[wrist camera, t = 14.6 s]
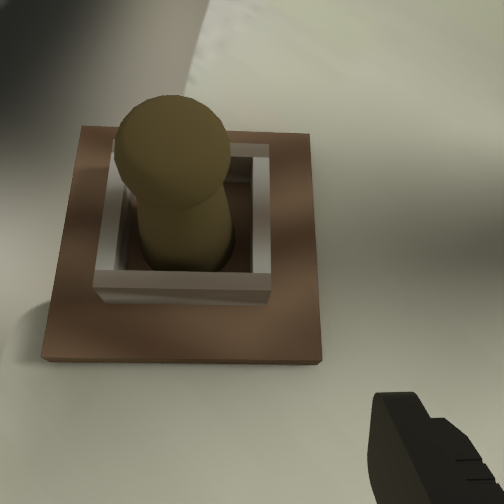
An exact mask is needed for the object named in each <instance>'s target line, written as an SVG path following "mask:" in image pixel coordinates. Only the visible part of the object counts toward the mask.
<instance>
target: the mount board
mask: <svg viewBox="0 0 504 504" xmlns="http://www.w3.org/2000/svg"><path fill="white" fill-rule="evenodd" d="M118 128H119V127H100V126H82V128H81V134H80V139H79V144H78V150H77V156H76V161H75V167H74V173H73V178H72V184H71V190H70V196H69V201H68V207H67V212H66V218H65V224H64V229H63V235H62V241H61V246H60V252H59V258H58V263H57V269H56V275H55V281H54V286H53V291H52V297H51V303H50V308H49V314H48V320H47V325H46V331H45V337H44V342H43V348H42V354H41V357H42V358H44V359H45V360H47V361H49V362H116V363H210V364H304V365H318V364H319V363H320V362H321V361H322V346H321V328H320V310H319V293H318V275H317V257H316V240H315V222H314V205H313V187H312V169H311V152H310V134H302V133H274V132H245V131H226V132H227V135H228V137H229V140H230V152H231V160H230V165H229V169H228V172H227V175H226V178H225V180H224V182H223V187H224V190H225V194H226V198H227V202H228V206H229V210H230V214H231V217H232V221H233V225H234V229H235V242H236V243H235V246H234V250H233V253H232V256H231V258H230V259H229V261H228V262H227V263H226V265H225V266H224V268H222V269H221V270H220V271H219V272H184V271H153V270H152V268H151V267H150V266H149V265H148V264H147V262H146V261H145V259H144V256H143V254H142V251H141V248H140V238H139V226H138V215H137V203H136V196H135V195H134V194H133V193H132V192H131V191H130V190H129V189H128V187H127V186H126V185H125V184H124V183H123V182H122V180H121V177H120V175H119V172H118V169H117V166H116V164H115V161H114V145H115V135H116V133H117V131H118Z"/></svg>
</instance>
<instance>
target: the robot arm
mask: <svg viewBox="0 0 504 504" xmlns="http://www.w3.org/2000/svg"><path fill="white" fill-rule="evenodd" d="M367 463H368V473H369V479H370V483H371V487H372V490H373V493H374V496H375V499H376V502H377V504H504V491H503V490H502V488H501V486H500V485H499V483H497V484H496V482H495V477H494V476H493V474H492V473H491V471H490V470H489V468H488V467H487V465H486V464H483V462H482V458H481V456H480V455H479V453H478V452H477V450H476V449H475V447H474V446H473V444H472V443H471V441H470V440H469V438H468V437H467V436H466V435H465V434H464V433H463V432H461V431H460V430H459V429H458V428H456V427H455V426H454V425H453V424H451V423H450V422H449V421H448V420H446V419H445V418H430V416H429V414H428V413H427V411H426V409H425V408H424V406H423V404H422V403H421V401H420V399H419V397H418V396H417V395H416V394H415V393H414V392H381V393H375V395H374V397H373V402H372V412H371V422H370V432H369V442H368V453H367Z"/></svg>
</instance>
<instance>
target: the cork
mask: <svg viewBox="0 0 504 504" xmlns="http://www.w3.org/2000/svg"><path fill="white" fill-rule="evenodd" d="M230 160H231V152H230V140H229V137H228V135H227V132H226V130H225V128H224V126H223V124H222V122H221V120H220V119H219V118H218V117H217V116H216V115H215V114H214V113H213V112H212V111H211V110H210V109H209V108H208V107H207V106H205V105H203V104H202V103H200V102H198V101H196V100H194V99H192V98H188V97H183V96H179V95H166V96H159V97H155V98H152V99H148V100H146V101H144V102H142V103H141V104H139V105H138V106H136V107H134V108H133V109H132V110H131V111H130V113H129V114H128V115H127V116H126V117H125V118H124V119H123V121H122V122H121V124H120V126H119V128H118V131H117V133H116V135H115V145H114V161H115V164H116V166H117V169H118V172H119V175H120V177H121V180H122V182H123V183H124V184H125V185H126V186H127V187H128V189H129V190H130V191H131V192H132V193H133V194H134V195H135V196H136V203H137V215H138V226H139V238H140V248H141V251H142V254H143V256H144V259H145V261H146V262H147V264H148V265H149V266H150V267H151V268H152V270H153V271H184V272H219V271H220V270H221V269H222V268H224V266H225V265H226V263H227V262H228V261H229V259H230V258H231V256H232V253H233V250H234V246H235V243H236V242H235V229H234V225H233V221H232V217H231V214H230V210H229V206H228V202H227V198H226V194H225V190H224V187H223V182H224V180H225V178H226V175H227V172H228V169H229V165H230Z"/></svg>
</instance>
